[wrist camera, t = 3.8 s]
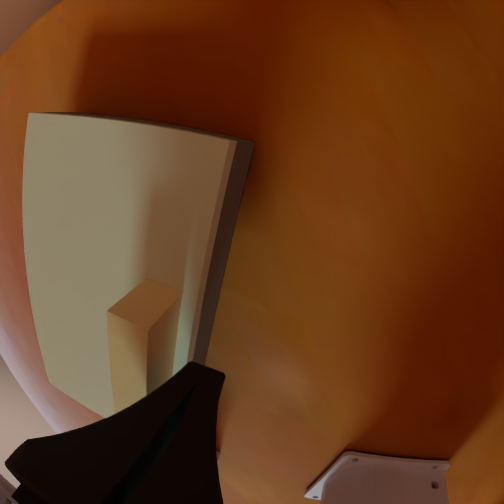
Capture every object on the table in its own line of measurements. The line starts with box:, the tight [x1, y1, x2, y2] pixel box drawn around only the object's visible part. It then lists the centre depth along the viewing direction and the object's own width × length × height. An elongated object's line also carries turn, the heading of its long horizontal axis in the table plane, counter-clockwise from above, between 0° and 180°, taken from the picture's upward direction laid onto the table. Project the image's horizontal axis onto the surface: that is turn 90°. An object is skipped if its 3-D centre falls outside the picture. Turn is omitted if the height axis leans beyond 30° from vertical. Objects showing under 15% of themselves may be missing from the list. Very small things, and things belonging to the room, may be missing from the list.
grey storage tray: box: [43, 112, 255, 365], centre depth 14 cm, size 10×17×2 cm, turn 167°
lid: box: [22, 113, 237, 418], centre depth 12 cm, size 10×17×3 cm, turn 167°
